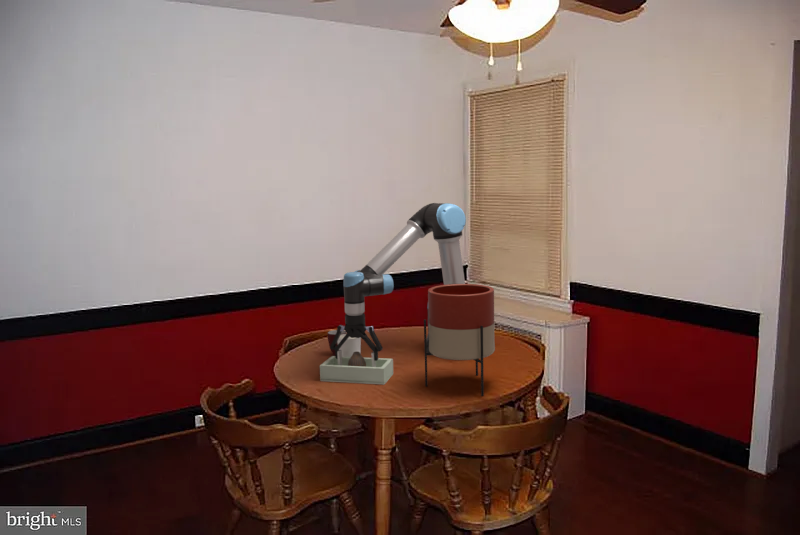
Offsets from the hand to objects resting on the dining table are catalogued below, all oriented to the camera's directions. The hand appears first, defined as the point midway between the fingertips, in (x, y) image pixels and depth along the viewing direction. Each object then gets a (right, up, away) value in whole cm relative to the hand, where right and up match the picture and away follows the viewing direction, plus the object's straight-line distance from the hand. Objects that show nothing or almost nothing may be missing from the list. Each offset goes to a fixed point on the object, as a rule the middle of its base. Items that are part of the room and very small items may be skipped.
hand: (357, 368), depth 241 cm
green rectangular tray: (0, -4, +1) cm, 4 cm away
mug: (-9, 0, +33) cm, 34 cm away
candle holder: (-4, -2, +17) cm, 17 cm away
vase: (0, -3, +1) cm, 3 cm away
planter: (+38, -5, -12) cm, 40 cm away
